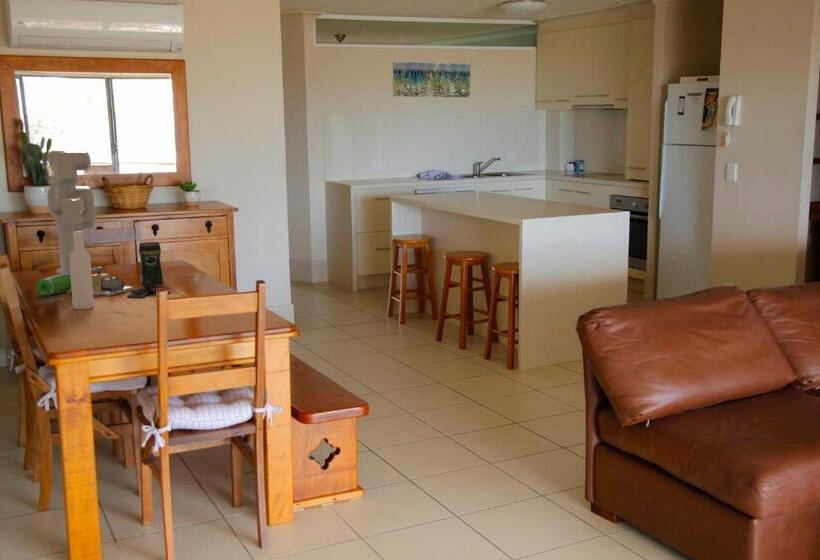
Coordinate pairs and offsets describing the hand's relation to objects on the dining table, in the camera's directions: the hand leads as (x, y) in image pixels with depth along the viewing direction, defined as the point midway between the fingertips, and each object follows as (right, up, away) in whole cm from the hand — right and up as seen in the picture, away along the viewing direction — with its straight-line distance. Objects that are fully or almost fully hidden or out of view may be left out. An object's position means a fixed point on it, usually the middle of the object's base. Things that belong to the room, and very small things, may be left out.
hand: (75, 271), depth 371 cm
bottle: (+13, -15, -27) cm, 34 cm away
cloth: (+32, -10, +1) cm, 34 cm away
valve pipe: (+8, -8, +7) cm, 14 cm away
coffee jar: (+24, -5, +27) cm, 36 cm away
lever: (+6, -2, +1) cm, 6 cm away
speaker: (-10, -9, +6) cm, 15 cm away
